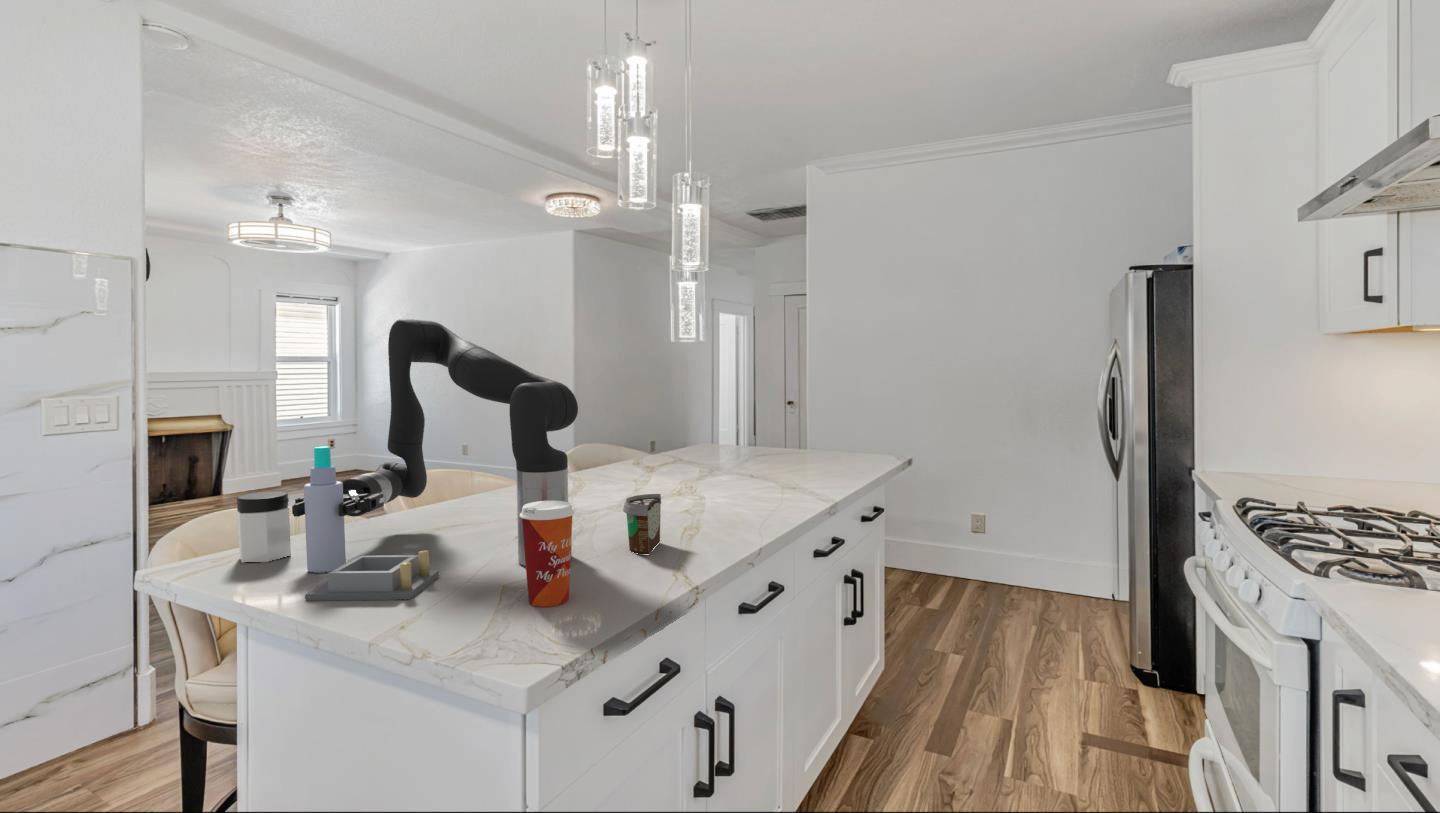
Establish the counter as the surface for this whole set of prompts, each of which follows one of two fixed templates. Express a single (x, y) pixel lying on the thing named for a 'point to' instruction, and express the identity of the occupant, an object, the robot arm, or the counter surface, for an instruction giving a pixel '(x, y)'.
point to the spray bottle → (324, 516)
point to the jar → (263, 526)
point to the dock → (377, 578)
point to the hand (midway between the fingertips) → (318, 510)
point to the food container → (643, 522)
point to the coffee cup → (547, 551)
